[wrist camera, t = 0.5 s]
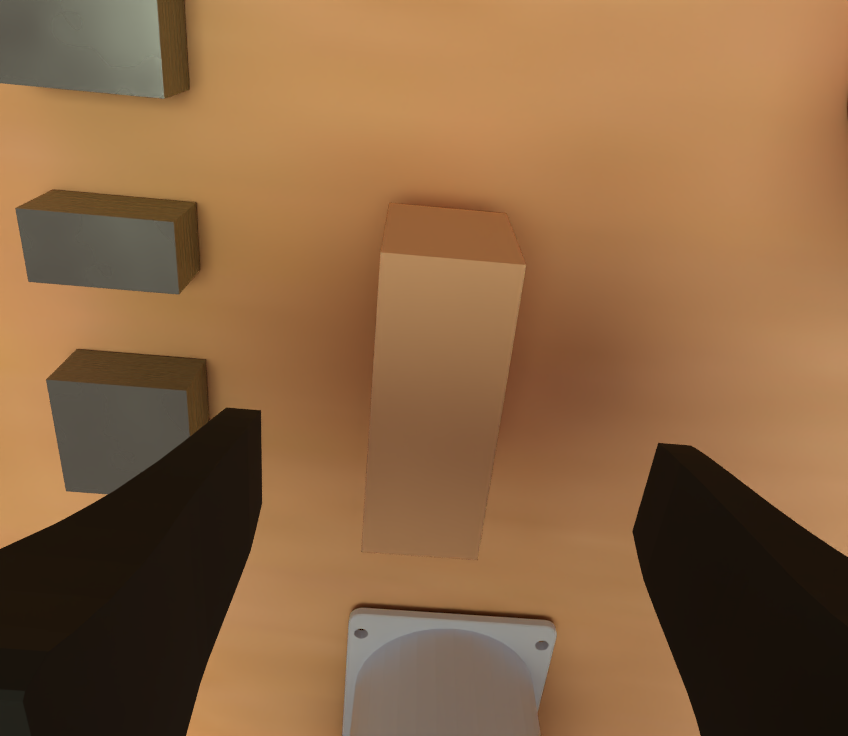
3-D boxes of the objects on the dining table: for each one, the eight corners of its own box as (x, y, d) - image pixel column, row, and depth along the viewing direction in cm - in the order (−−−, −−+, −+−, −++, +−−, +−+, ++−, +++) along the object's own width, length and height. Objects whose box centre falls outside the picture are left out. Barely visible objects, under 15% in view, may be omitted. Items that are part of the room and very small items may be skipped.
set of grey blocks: (211, 463, 24) (194, 500, 22) (92, 454, 24) (66, 491, 22) (178, -90, 17) (149, -102, 15) (6, -109, 16) (-44, -123, 15)
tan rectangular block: (465, 433, 23) (477, 560, 18) (375, 426, 23) (361, 551, 18) (499, 194, 20) (526, 265, 14) (392, 184, 20) (380, 252, 14)
